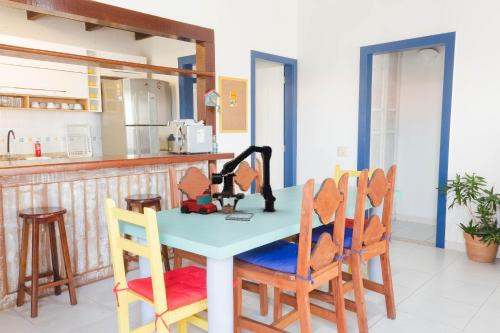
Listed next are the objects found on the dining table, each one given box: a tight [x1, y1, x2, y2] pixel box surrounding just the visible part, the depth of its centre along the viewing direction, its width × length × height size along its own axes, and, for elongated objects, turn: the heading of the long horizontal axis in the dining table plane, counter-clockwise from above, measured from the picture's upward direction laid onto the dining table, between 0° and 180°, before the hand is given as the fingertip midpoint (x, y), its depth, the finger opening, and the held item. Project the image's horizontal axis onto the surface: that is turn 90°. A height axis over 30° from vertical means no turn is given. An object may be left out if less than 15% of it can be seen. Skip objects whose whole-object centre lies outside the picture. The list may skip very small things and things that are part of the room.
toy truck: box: [179, 193, 218, 216], centre depth 232 cm, size 12×20×11 cm, turn 58°
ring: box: [221, 204, 236, 214], centre depth 232 cm, size 8×7×3 cm
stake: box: [220, 203, 238, 214], centre depth 232 cm, size 10×10×5 cm
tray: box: [225, 211, 255, 222], centre depth 219 cm, size 14×14×2 cm
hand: (228, 210), depth 232 cm, fingers closed on ring, 7 cm apart
